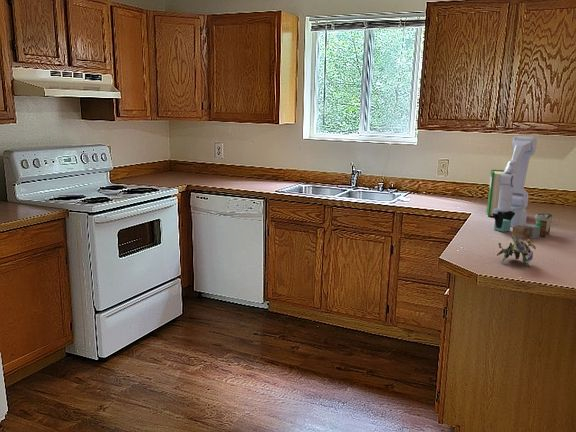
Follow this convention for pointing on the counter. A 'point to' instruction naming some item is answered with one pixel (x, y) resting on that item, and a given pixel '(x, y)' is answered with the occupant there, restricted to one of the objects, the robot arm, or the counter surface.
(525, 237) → the brass block
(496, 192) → the hardback book
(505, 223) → the teal block
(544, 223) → the food container
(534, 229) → the slate-grey block
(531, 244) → the passion flower
